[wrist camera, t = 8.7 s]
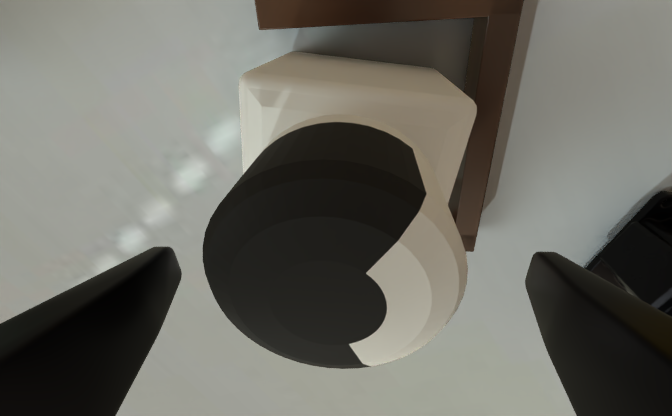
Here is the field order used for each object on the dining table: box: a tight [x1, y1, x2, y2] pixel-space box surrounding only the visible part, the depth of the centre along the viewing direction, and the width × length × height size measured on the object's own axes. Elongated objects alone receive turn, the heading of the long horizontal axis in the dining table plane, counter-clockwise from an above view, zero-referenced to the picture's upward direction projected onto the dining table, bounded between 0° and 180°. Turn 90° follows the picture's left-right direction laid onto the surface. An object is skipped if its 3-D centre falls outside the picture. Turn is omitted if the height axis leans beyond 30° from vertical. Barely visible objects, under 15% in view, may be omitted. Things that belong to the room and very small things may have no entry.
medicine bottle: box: [203, 52, 477, 369], centre depth 12 cm, size 7×7×12 cm
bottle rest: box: [255, 0, 524, 252], centre depth 16 cm, size 10×12×2 cm
